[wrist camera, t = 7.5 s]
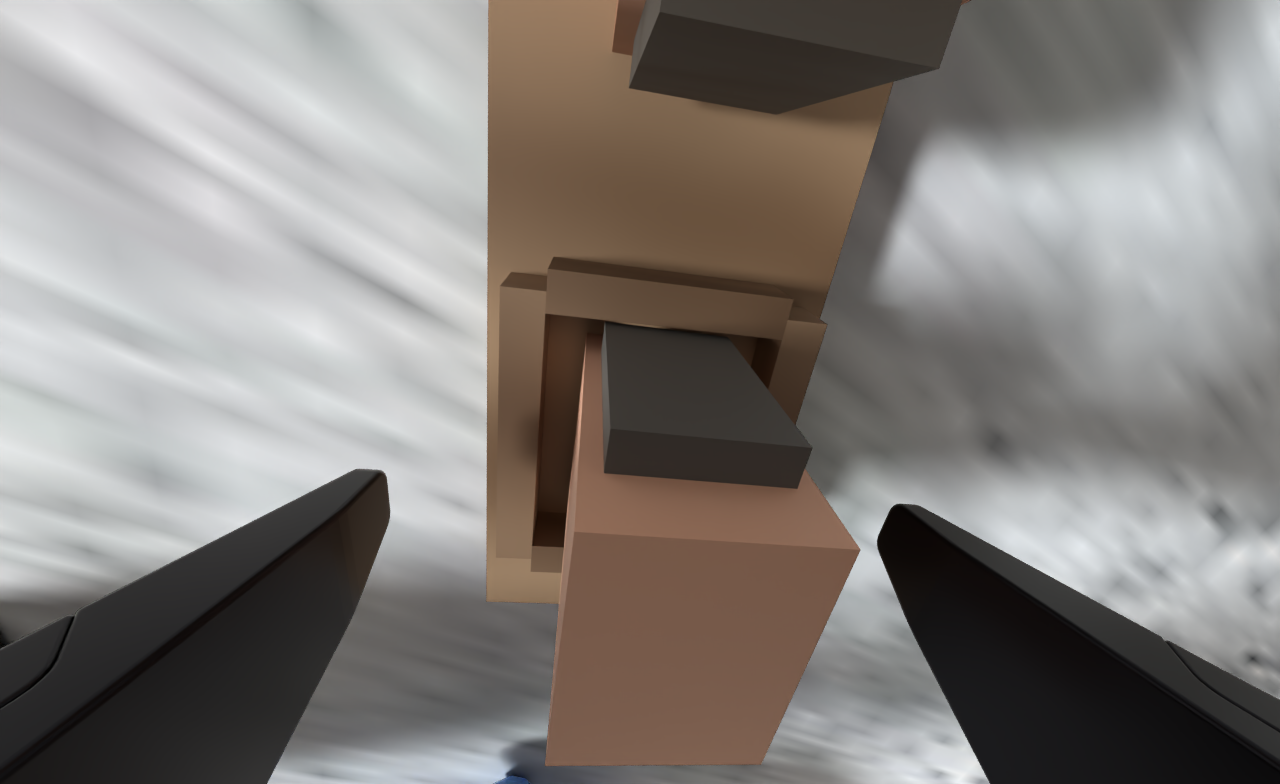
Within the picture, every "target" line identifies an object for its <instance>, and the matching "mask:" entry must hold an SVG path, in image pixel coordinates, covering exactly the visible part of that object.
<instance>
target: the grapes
mask: <svg viewBox="0 0 1280 784" xmlns="http://www.w3.org/2000/svg"><path fill="white" fill-rule="evenodd" d="M493 784H530V783H529V782H528V781H527V779H526V778H521V777H516V776H509V777H507V778H504V779H502V780H500V781H498V782H495V783H493Z"/></svg>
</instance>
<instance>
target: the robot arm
mask: <svg viewBox="0 0 1280 784" xmlns="http://www.w3.org/2000/svg"><path fill="white" fill-rule="evenodd" d="M389 519H390V504H389V494H388V485H387V477H386V475H385V473H384V472H383V471H381V470H372V469H355V470H353V471H351V472H349V473H347V474H345V475H343V476H341V477H339V478H337V479H335V480H333V481H331V482H329V483H327V484H325V485H323V486H321V487H319V488H317V489H315V490H313V491H311V492H309V493H307V494H305V495H303V496H301V497H300V498H298V499H296V500H294V501H292V502H290V503H288V504H286V505H284V506H282V507H280V508H278V509H276V510H274V511H272V512H270V513H268V514H266V515H264V516H262V517H260V518H258V519H256V520H254V521H252V522H250V523H248V524H246V525H244V526H242V527H240V528H238V529H236V530H234V531H233V532H231V533H229V534H227V535H225V536H223V537H221V538H219V539H217V540H215V541H213V542H211V543H209V544H207V545H205V546H203V547H201V548H199V549H197V550H195V551H193V552H191V553H189V554H187V555H185V556H183V557H181V558H179V559H177V560H175V561H173V562H171V563H169V564H167V565H165V566H163V567H161V568H159V569H158V570H156V571H154V572H152V573H150V574H148V575H146V576H144V577H142V578H140V579H138V580H136V581H134V582H132V583H130V584H128V585H126V586H124V587H122V588H120V589H118V590H116V591H114V592H112V593H110V594H108V595H106V596H104V597H102V598H100V599H98V600H96V601H94V602H92V603H90V604H88V605H86V606H85V607H83V608H81V609H79V610H78V611H77V612H76V614H75V616H74V615H67V616H64V617H62V618H61V619H59V620H57V621H55V622H53V623H51V624H49V625H47V626H45V627H43V628H41V629H39V630H37V631H35V632H33V633H31V634H29V635H27V636H25V637H23V638H21V639H19V640H17V641H15V642H13V643H11V644H9V645H7V646H5V647H3V648H2V646H1V645H0V784H267V783H268V781H269V779H270V777H271V775H272V773H273V771H274V769H275V767H276V765H277V763H278V761H279V759H280V757H281V755H282V753H283V752H284V750H285V748H286V746H287V744H288V742H289V740H290V738H291V736H292V734H293V732H294V730H295V728H296V726H297V724H298V722H299V720H300V718H301V717H302V715H303V713H304V711H305V709H306V707H307V705H308V703H309V701H310V699H311V697H312V695H313V693H314V691H315V689H316V687H317V685H318V683H319V681H320V680H321V678H322V676H323V674H324V672H325V670H326V668H327V666H328V664H329V662H330V660H331V658H332V656H333V654H334V652H335V650H336V648H337V646H338V644H339V643H340V641H341V639H342V637H343V635H344V633H345V631H346V629H347V627H348V625H349V623H350V621H351V619H352V616H353V614H354V612H355V610H356V607H357V605H358V602H359V600H360V597H361V595H362V592H363V590H364V587H365V584H366V582H367V579H368V576H369V574H370V571H371V569H372V566H373V563H374V561H375V558H376V555H377V553H378V550H379V548H380V545H381V542H382V540H383V537H384V534H385V532H386V529H387V527H388V523H389ZM877 547H878V551H879V553H880V556H881V558H882V561H883V563H884V566H885V568H886V571H887V573H888V576H889V578H890V580H891V583H892V585H893V588H894V590H895V593H896V595H897V598H898V600H899V603H900V605H901V608H902V610H903V612H904V615H905V617H906V619H907V622H908V624H909V626H910V629H911V631H912V633H913V635H914V637H915V639H916V641H917V643H918V645H919V647H920V649H921V651H922V653H923V655H924V656H925V658H926V660H927V662H928V664H929V666H930V668H931V670H932V672H933V674H934V676H935V678H936V680H937V682H938V684H939V686H940V688H941V689H942V691H943V693H944V695H945V697H946V699H947V701H948V703H949V705H950V707H951V709H952V711H953V713H954V715H955V717H956V719H957V720H958V722H959V724H960V726H961V728H962V730H963V732H964V734H965V736H966V738H967V740H968V742H969V744H970V746H971V748H972V750H973V752H974V753H975V755H976V757H977V759H978V761H979V763H980V765H981V767H982V769H983V771H984V773H985V775H986V777H987V779H988V781H989V783H990V784H1280V700H1279V699H1277V698H1275V697H1273V696H1271V695H1270V694H1268V693H1266V692H1264V691H1262V690H1260V689H1258V688H1256V687H1254V686H1252V685H1250V684H1248V683H1247V682H1245V681H1243V680H1241V679H1239V678H1237V677H1235V676H1233V675H1231V674H1230V673H1228V672H1226V671H1224V670H1222V669H1220V668H1218V667H1216V666H1215V665H1213V664H1211V663H1209V662H1207V661H1205V660H1203V659H1201V658H1200V657H1198V656H1196V655H1194V654H1192V653H1190V652H1188V651H1187V650H1185V649H1183V648H1181V647H1179V646H1177V645H1176V644H1174V643H1172V642H1170V641H1164V639H1163V638H1162V637H1160V636H1159V635H1157V634H1155V633H1153V632H1151V631H1150V630H1148V629H1146V628H1144V627H1142V626H1140V625H1138V624H1137V623H1135V622H1133V621H1131V620H1129V619H1127V618H1126V617H1124V616H1122V615H1120V614H1118V613H1116V612H1114V611H1113V610H1111V609H1109V608H1107V607H1105V606H1103V605H1102V604H1100V603H1098V602H1096V601H1094V600H1092V599H1090V598H1089V597H1087V596H1085V595H1083V594H1081V593H1079V592H1078V591H1076V590H1074V589H1072V588H1070V587H1068V586H1067V585H1065V584H1063V583H1061V582H1059V581H1057V580H1055V579H1054V578H1052V577H1050V576H1048V575H1046V574H1044V573H1043V572H1041V571H1039V570H1037V569H1035V568H1033V567H1031V566H1030V565H1028V564H1026V563H1024V562H1022V561H1020V560H1019V559H1017V558H1015V557H1013V556H1011V555H1009V554H1007V553H1006V552H1004V551H1002V550H1000V549H998V548H996V547H995V546H993V545H991V544H989V543H987V542H985V541H983V540H982V539H980V538H978V537H976V536H974V535H972V534H971V533H969V532H967V531H965V530H963V529H961V528H959V527H958V526H956V525H954V524H952V523H950V522H948V521H947V520H945V519H943V518H941V517H939V516H937V515H936V514H934V513H932V512H930V511H928V510H926V509H924V508H923V507H921V506H918V505H912V504H896V505H894V506H893V507H892V508H891V509H890V511H889V513H888V515H887V518H886V520H885V522H884V524H883V526H882V529H881V531H880V533H879V535H878V539H877Z"/></svg>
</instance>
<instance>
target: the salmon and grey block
mask: <svg viewBox="0 0 1280 784" xmlns="http://www.w3.org/2000/svg"><path fill="white" fill-rule="evenodd" d="M811 450H812V447H811V445H810V444H809V443H808V441H807V440H806V439H805V437H804V436H803V435H802V434H801V432H800V431H799V430H798V428H797V427H796V426H795V424H794V423H793V422H792V420H791V419H790V418H789V416H788V415H787V414H786V413H785V411H784V410H783V409H782V407H781V406H780V405H779V403H778V402H777V401H776V399H775V398H774V397H773V396H772V394H771V393H770V392H769V390H768V389H767V388H766V386H765V385H764V384H763V382H762V381H761V380H760V378H759V377H758V376H757V375H756V373H755V372H754V371H753V369H752V368H751V367H750V365H749V364H748V363H747V361H746V360H745V359H744V357H743V356H742V355H741V354H740V352H739V351H738V350H737V348H736V347H735V346H734V344H733V343H732V342H731V340H730V339H729V338H728V337H724V336H717V335H709V334H701V333H693V332H685V331H677V330H669V329H661V328H653V327H645V326H637V325H629V324H622V323H614V322H606V321H605V326H604V333H603V335H601V334H593V333H587V334H586V343H585V352H584V361H583V370H582V379H581V387H580V396H579V405H578V414H577V423H576V432H575V440H574V449H573V458H572V467H571V476H570V485H569V495H568V507H567V518H566V530H565V541H564V553H563V564H562V576H561V587H560V599H559V610H558V622H557V633H556V645H555V656H554V668H553V679H552V691H551V702H550V713H549V725H548V736H547V748H546V759H545V766H622V765H761V763H762V761H763V759H764V757H765V755H766V753H767V750H768V748H769V746H770V744H771V742H772V740H773V737H774V735H775V733H776V731H777V729H778V727H779V724H780V722H781V720H782V718H783V716H784V714H785V712H786V709H787V707H788V705H789V703H790V701H791V699H792V696H793V694H794V692H795V690H796V688H797V686H798V684H799V681H800V679H801V677H802V675H803V673H804V671H805V668H806V666H807V664H808V662H809V660H810V658H811V655H812V653H813V651H814V649H815V647H816V645H817V643H818V640H819V638H820V636H821V634H822V632H823V630H824V627H825V625H826V623H827V621H828V619H829V617H830V615H831V612H832V610H833V608H834V606H835V604H836V602H837V599H838V597H839V595H840V593H841V591H842V589H843V586H844V584H845V582H846V580H847V578H848V576H849V574H850V571H851V569H852V567H853V565H854V563H855V561H856V558H857V556H858V554H859V552H860V548H859V547H858V545H857V544H856V542H855V541H854V540H853V538H852V537H851V535H850V534H849V532H848V531H847V529H846V528H845V526H844V525H843V524H842V522H841V521H840V519H839V518H838V516H837V515H836V513H835V512H834V510H833V509H832V507H831V506H830V505H829V503H828V502H827V500H826V499H825V497H824V496H823V494H822V493H821V491H820V490H819V489H818V487H817V486H816V484H815V483H814V481H813V480H812V478H811V477H810V475H809V474H808V472H807V471H806V470H805V467H806V464H807V461H808V458H809V456H810V453H811Z"/></svg>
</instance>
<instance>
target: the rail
mask: <svg viewBox="0 0 1280 784" xmlns="http://www.w3.org/2000/svg"><path fill="white" fill-rule="evenodd" d="M969 1H971V0H489V8H488V292H487V577H486V602H518V603H551V604H559V599H560V587H561V576H562V564H563V553H564V541H565V530H566V518H567V507H568V495H569V485H570V476H571V467H572V458H573V449H574V440H575V432H576V423H577V414H578V405H579V396H580V387H581V379H582V370H583V361H584V352H585V343H586V334H587V333H593V334H601V335H603V333H604V326H605V321H606V322H614V323H622V324H629V325H637V326H645V327H653V328H661V329H669V330H677V331H685V332H693V333H701V334H709V335H717V336H724V337H728V338H729V339H730V340H731V342H732V343H733V344H734V346H735V347H736V348H737V350H738V351H739V352H740V354H741V355H742V356H743V357H744V359H745V360H746V361H747V363H748V364H749V365H750V367H751V368H752V369H753V371H754V372H755V373H756V375H757V376H758V377H759V378H760V380H761V381H762V382H763V384H764V385H765V386H766V388H767V389H768V390H769V392H770V393H771V394H772V396H773V397H774V398H775V399H776V401H777V402H778V403H779V405H780V406H781V407H782V409H783V410H784V411H785V413H786V414H787V415H788V416H789V418H790V419H791V420H792V422H793V423H794V424H796V421H797V418H798V415H799V412H800V409H801V405H802V402H803V399H804V396H805V393H806V390H807V387H808V384H809V381H810V377H811V374H812V371H813V368H814V365H815V362H816V359H817V356H818V352H819V349H820V346H821V343H822V340H823V337H824V334H825V331H826V327H827V324H826V323H824V322H823V321H821V320H820V316H821V313H822V310H823V307H824V303H825V300H826V297H827V294H828V290H829V287H830V284H831V281H832V278H833V274H834V271H835V268H836V265H837V262H838V258H839V255H840V252H841V249H842V246H843V242H844V239H845V236H846V233H847V229H848V226H849V223H850V220H851V217H852V213H853V210H854V207H855V204H856V201H857V197H858V194H859V191H860V188H861V185H862V181H863V178H864V175H865V172H866V168H867V165H868V162H869V159H870V156H871V152H872V149H873V146H874V143H875V140H876V136H877V133H878V130H879V127H880V124H881V120H882V117H883V114H884V111H885V108H886V104H887V101H888V98H889V95H890V91H891V88H892V85H893V82H894V81H897V80H900V79H904V78H907V77H911V76H915V75H918V74H922V73H925V72H929V71H932V70H936V69H939V67H940V64H941V61H942V58H943V55H944V52H945V49H946V47H947V44H948V41H949V38H950V35H951V32H952V29H953V26H954V23H955V20H956V17H957V14H958V11H959V9H960V6H961V5H962V4H964V3H967V2H969Z"/></svg>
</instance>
